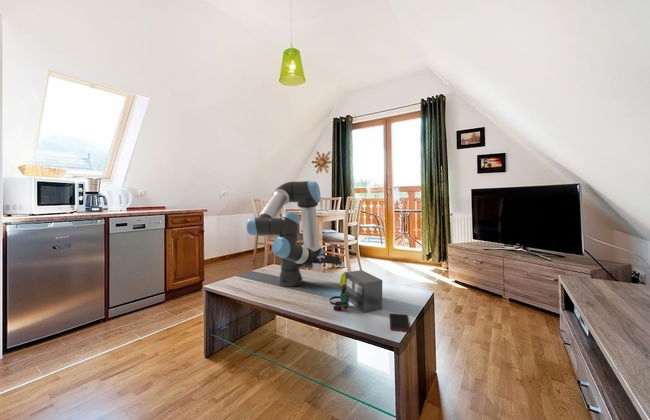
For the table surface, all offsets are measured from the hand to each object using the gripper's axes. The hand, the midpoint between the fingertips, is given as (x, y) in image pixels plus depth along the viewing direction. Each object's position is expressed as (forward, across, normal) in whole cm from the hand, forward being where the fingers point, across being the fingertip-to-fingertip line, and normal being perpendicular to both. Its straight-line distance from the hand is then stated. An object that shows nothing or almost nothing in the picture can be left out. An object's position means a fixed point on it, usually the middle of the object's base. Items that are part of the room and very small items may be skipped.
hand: (331, 266), depth 128 cm
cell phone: (+12, +28, -25) cm, 39 cm away
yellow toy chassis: (+35, -8, -4) cm, 36 cm away
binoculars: (+8, 0, -18) cm, 20 cm away
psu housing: (+18, +7, -15) cm, 25 cm away
